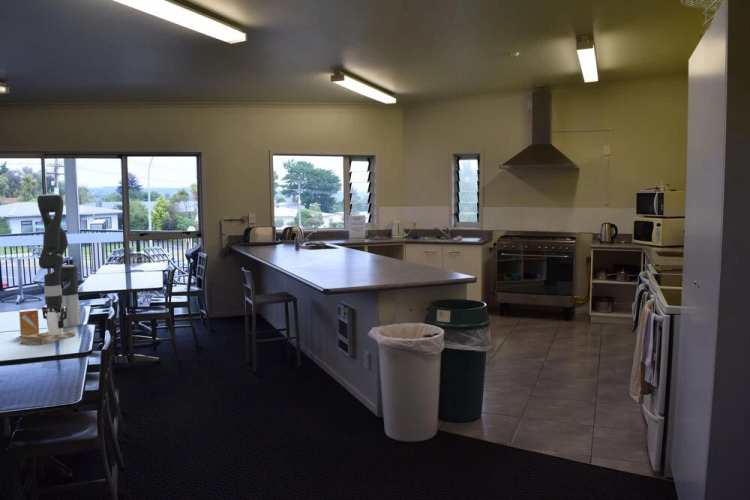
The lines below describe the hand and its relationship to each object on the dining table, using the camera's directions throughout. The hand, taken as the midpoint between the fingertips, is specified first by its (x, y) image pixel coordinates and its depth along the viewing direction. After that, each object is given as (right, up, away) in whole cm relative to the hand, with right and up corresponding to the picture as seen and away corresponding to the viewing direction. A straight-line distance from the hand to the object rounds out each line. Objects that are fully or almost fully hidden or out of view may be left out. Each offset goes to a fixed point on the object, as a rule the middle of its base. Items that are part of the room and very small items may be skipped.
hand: (55, 327), depth 292 cm
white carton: (0, -4, 0) cm, 4 cm away
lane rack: (-1, -5, -4) cm, 7 cm away
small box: (-17, -5, +7) cm, 19 cm away
